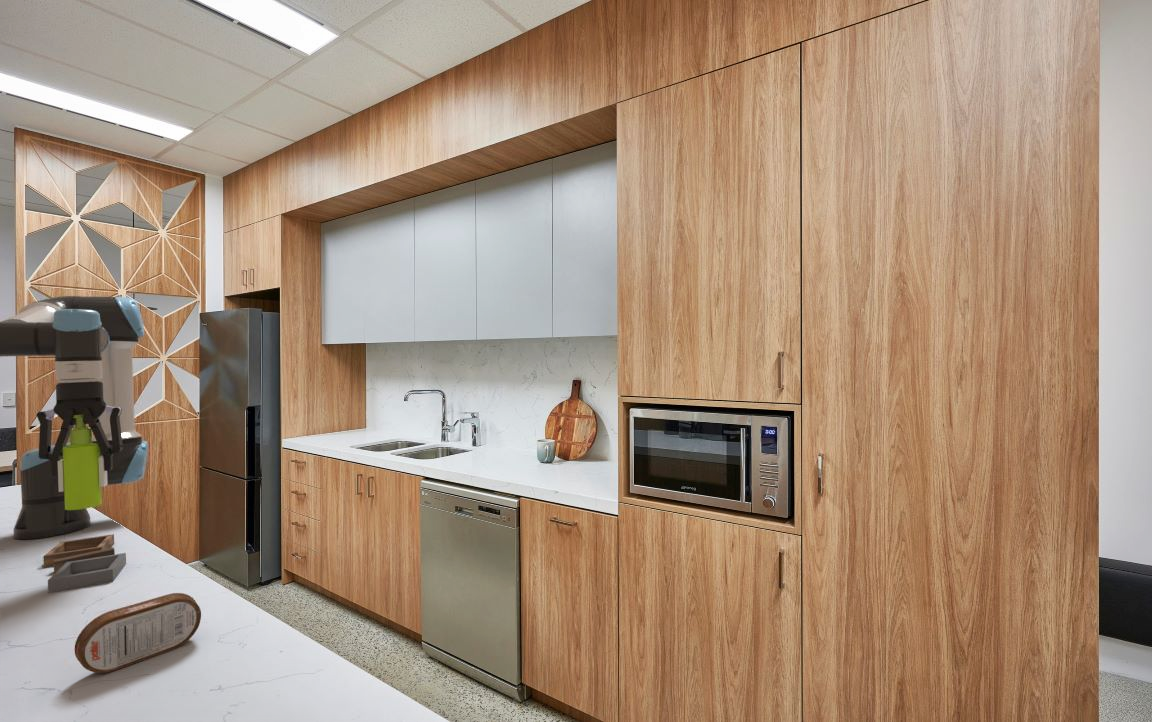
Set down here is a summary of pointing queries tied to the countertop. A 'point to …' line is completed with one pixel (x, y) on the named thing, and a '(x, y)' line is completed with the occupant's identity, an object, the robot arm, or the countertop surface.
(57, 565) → the door edge rail
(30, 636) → the countertop surface
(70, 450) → the soap dispenser
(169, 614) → the tin
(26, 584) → the countertop surface
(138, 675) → the countertop surface
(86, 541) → the walnut holder
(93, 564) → the keeper frame
